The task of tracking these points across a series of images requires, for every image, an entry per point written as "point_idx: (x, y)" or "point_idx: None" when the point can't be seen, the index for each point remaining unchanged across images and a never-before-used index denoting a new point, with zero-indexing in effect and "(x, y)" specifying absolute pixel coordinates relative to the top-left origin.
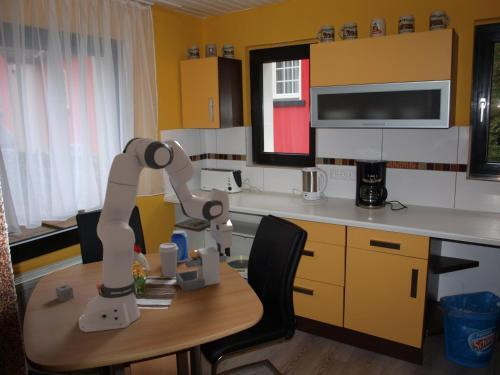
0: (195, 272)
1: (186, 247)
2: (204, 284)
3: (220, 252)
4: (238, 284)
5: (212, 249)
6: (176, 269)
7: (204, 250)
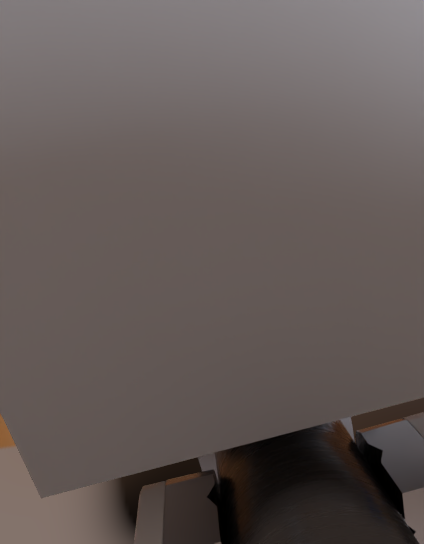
0: None
1: None
2: None
3: (221, 463)
4: None
5: (302, 327)
6: None
7: (267, 27)
